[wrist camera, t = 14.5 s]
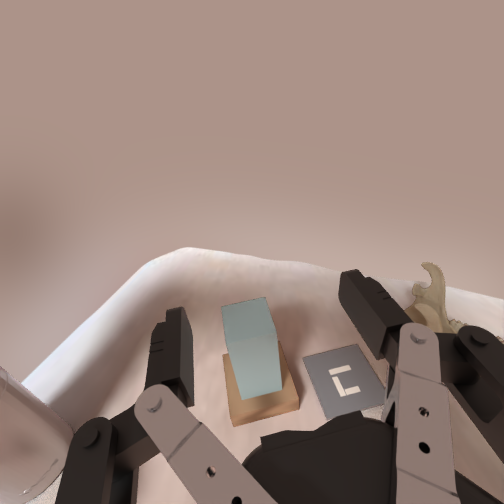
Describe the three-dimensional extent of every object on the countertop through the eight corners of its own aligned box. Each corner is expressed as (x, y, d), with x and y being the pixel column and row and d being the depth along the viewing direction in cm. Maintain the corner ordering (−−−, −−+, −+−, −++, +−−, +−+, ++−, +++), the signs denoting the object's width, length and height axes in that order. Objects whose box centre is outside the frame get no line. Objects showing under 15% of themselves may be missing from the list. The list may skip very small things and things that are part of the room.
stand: (233, 427, 35) (230, 416, 34) (225, 365, 43) (222, 354, 41) (299, 409, 36) (298, 398, 34) (280, 352, 43) (279, 340, 42)
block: (241, 400, 35) (226, 344, 28) (236, 362, 40) (221, 306, 33) (282, 389, 36) (276, 332, 29) (272, 354, 40) (265, 296, 33)
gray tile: (326, 420, 35) (327, 418, 34) (302, 359, 42) (302, 357, 42) (391, 402, 36) (391, 400, 35) (356, 345, 43) (356, 344, 43)
